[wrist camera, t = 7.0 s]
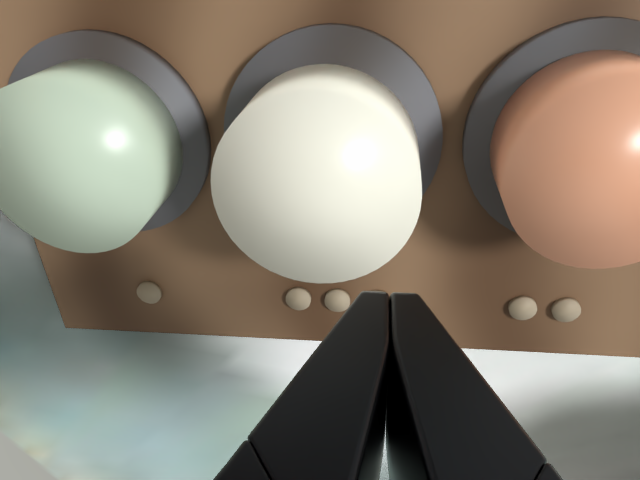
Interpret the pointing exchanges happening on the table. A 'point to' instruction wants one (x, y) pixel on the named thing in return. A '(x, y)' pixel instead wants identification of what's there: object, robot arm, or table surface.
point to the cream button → (319, 175)
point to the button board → (434, 151)
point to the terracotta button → (574, 160)
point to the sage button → (85, 155)
